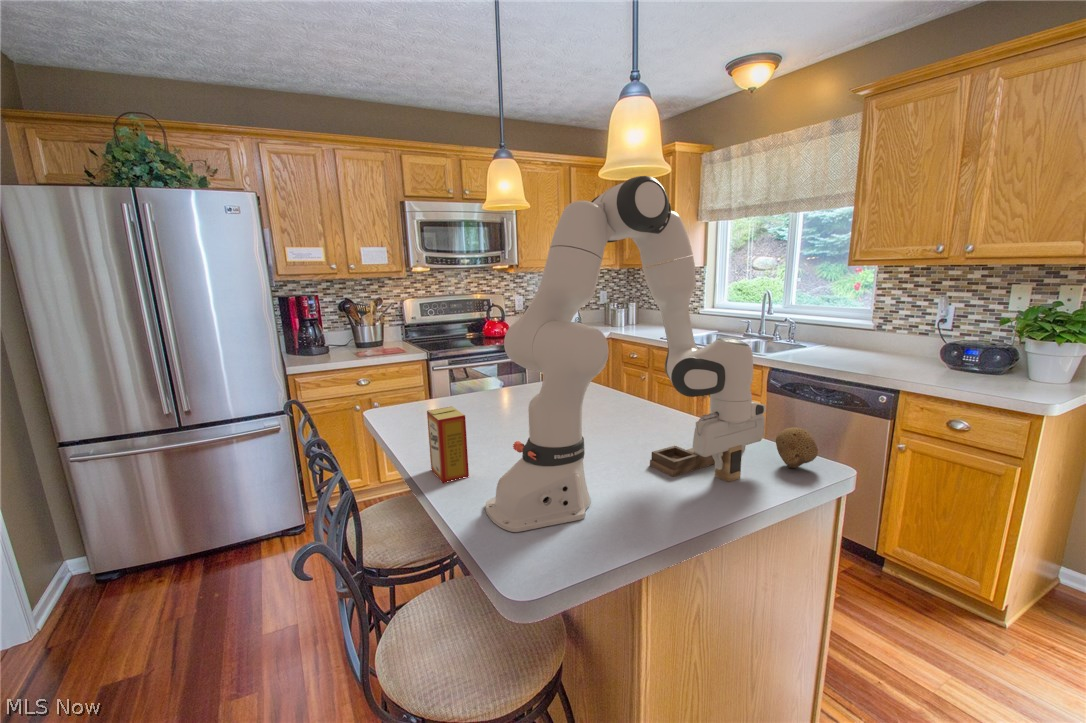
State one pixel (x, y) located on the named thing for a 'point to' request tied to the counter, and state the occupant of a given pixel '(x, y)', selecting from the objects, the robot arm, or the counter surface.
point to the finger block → (730, 464)
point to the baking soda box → (448, 443)
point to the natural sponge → (796, 446)
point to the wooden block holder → (678, 460)
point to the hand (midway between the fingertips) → (727, 465)
